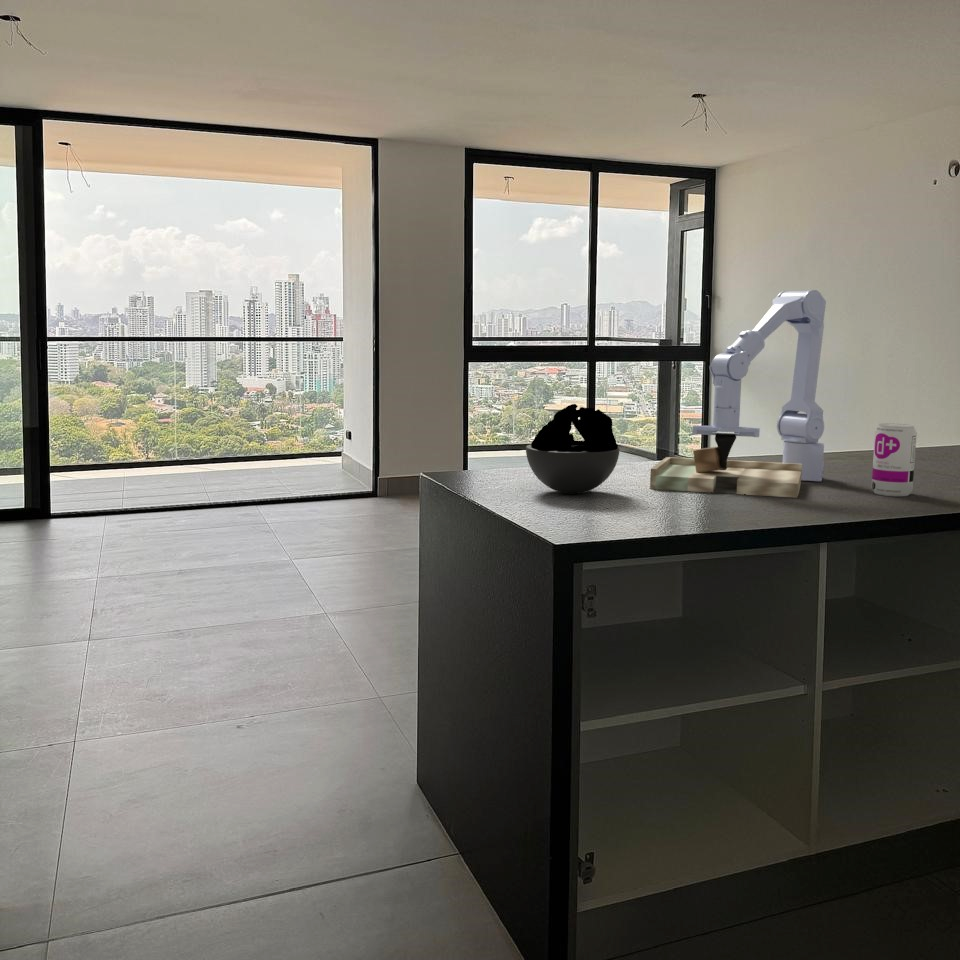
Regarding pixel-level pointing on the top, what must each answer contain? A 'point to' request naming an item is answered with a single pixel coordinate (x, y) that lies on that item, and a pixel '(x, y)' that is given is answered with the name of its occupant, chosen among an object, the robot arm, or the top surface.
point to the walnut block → (707, 459)
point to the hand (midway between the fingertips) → (723, 467)
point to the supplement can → (894, 459)
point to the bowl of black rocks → (574, 451)
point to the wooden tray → (728, 477)
